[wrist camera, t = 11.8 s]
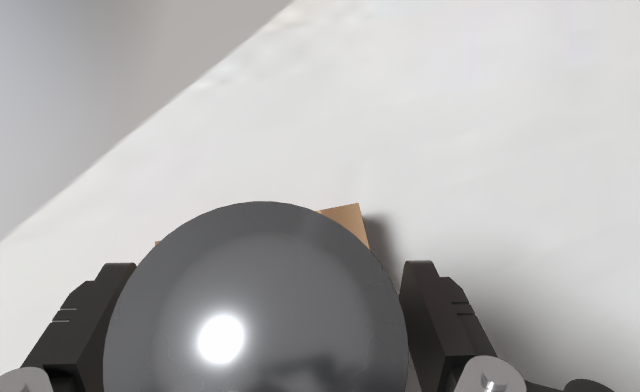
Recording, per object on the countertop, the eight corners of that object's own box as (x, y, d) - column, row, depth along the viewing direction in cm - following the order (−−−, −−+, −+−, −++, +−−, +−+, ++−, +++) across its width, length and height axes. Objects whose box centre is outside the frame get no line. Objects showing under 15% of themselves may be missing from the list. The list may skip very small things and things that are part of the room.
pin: (323, 262, 21) (368, 178, 8) (346, 373, 19) (444, 476, 7) (216, 283, 20) (92, 230, 8) (233, 400, 19) (115, 567, 6)
